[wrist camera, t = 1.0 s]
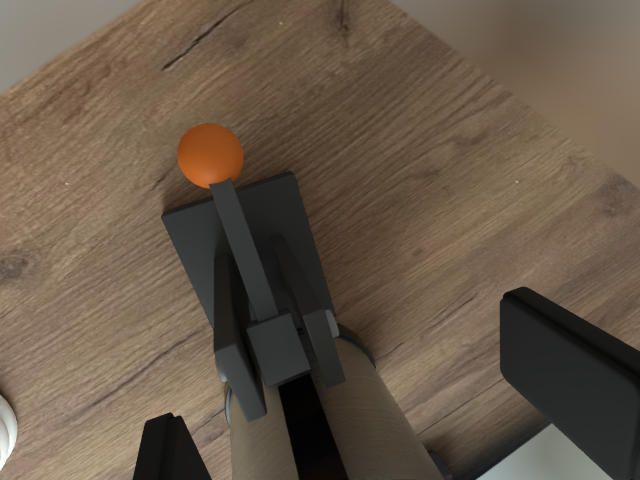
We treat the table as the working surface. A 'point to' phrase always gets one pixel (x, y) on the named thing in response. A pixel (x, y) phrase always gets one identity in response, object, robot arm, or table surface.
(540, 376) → the robot arm
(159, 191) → the table surface
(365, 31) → the table surface
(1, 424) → the white jar lid
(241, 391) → the switch base
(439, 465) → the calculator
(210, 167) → the switch lever
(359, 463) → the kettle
